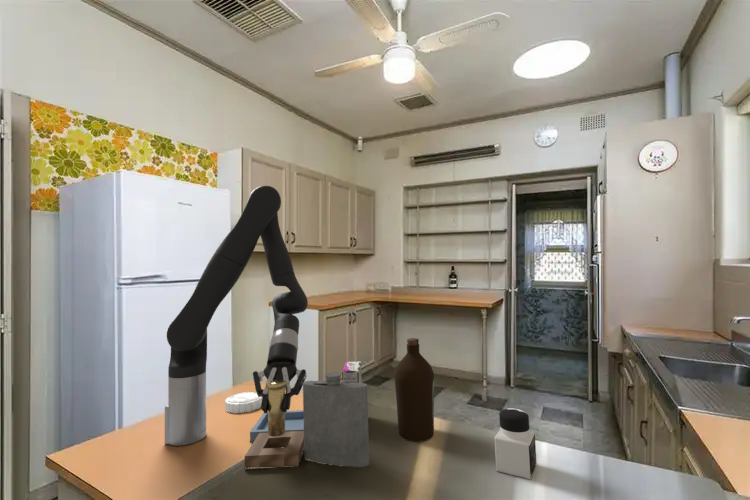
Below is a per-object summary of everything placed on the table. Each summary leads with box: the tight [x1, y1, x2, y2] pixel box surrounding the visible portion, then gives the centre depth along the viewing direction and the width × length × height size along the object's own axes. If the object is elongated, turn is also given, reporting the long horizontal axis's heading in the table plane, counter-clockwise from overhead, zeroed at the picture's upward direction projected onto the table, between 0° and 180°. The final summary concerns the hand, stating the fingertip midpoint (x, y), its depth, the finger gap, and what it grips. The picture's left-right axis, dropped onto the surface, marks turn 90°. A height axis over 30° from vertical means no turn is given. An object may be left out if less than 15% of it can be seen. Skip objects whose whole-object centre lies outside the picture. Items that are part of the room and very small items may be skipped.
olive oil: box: [394, 337, 435, 442], centre depth 99 cm, size 11×11×25 cm
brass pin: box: [265, 380, 287, 437], centre depth 89 cm, size 5×5×12 cm
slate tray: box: [249, 409, 304, 443], centre depth 103 cm, size 14×14×2 cm
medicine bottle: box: [494, 407, 538, 480], centre depth 80 cm, size 7×7×12 cm
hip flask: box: [302, 372, 370, 468], centre depth 85 cm, size 16×4×20 cm, turn 75°
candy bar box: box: [341, 360, 363, 383], centre depth 107 cm, size 11×5×16 cm, turn 179°
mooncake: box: [224, 391, 262, 414], centre depth 123 cm, size 12×12×4 cm
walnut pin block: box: [244, 431, 304, 468], centre depth 88 cm, size 12×12×3 cm
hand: (275, 411), depth 87 cm, fingers closed on brass pin, 4 cm apart
